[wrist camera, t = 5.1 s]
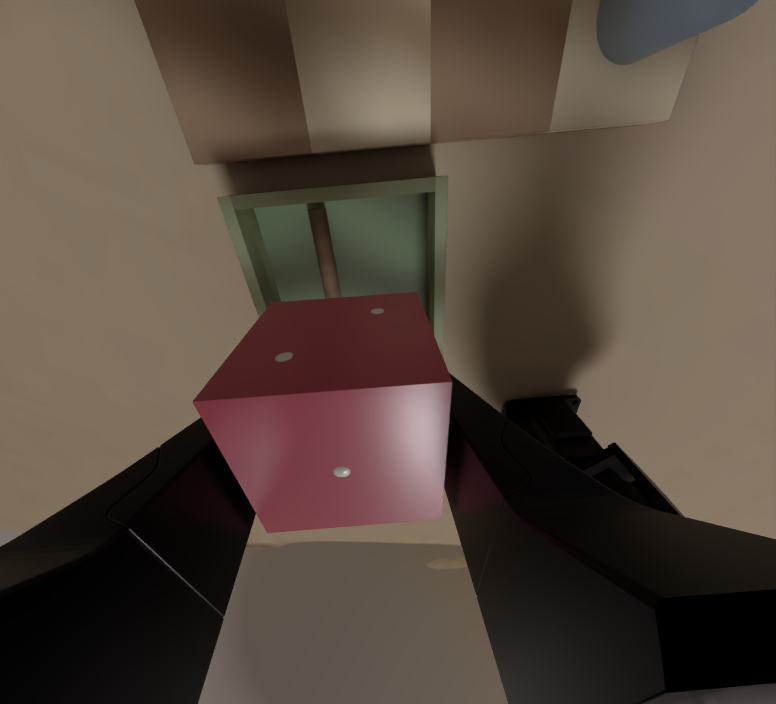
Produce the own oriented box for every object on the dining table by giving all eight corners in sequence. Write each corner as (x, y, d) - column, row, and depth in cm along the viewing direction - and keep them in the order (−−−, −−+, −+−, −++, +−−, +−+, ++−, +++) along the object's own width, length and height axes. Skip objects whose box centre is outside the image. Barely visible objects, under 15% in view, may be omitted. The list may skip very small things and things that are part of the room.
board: (652, 123, 15) (669, 119, 14) (204, 164, 15) (194, 164, 14) (739, -144, 11) (770, -171, 10) (117, -83, 11) (96, -105, 10)
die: (417, 401, 11) (442, 521, 7) (303, 409, 11) (266, 535, 7) (417, 290, 9) (453, 381, 5) (270, 300, 9) (189, 401, 5)
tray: (434, 344, 22) (442, 366, 19) (292, 357, 22) (281, 380, 19) (436, 176, 16) (448, 175, 13) (242, 194, 16) (216, 197, 13)
